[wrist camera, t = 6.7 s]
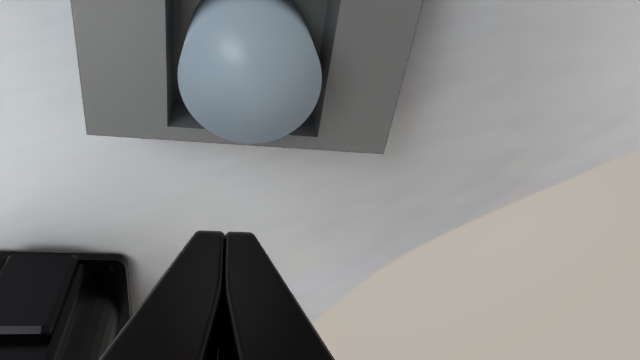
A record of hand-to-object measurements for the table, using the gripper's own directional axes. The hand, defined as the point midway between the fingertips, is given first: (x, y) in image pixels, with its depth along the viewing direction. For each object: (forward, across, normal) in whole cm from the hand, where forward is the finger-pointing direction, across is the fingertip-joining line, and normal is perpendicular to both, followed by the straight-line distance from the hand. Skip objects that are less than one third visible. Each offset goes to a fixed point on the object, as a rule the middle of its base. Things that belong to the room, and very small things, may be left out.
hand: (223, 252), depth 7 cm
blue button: (+11, -1, 0) cm, 11 cm away
